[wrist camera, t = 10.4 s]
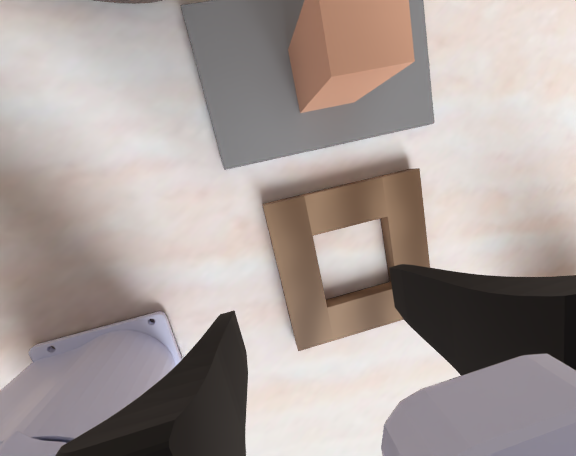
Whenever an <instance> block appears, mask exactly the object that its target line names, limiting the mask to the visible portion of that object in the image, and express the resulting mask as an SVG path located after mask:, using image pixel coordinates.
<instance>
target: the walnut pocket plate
mask: <svg viewBox="0 0 576 456" xmlns="http://www.w3.org/2000/svg"><path fill="white" fill-rule="evenodd" d="M262 205H263V209H264V213H265V217H266V221H267V226H268V230H269V234H270V238H271V242H272V246H273V250H274V254H275V259H276V263H277V267H278V271H279V275H280V279H281V283H282V287H283V292H284V296H285V300H286V304H287V308H288V312H289V316H290V320H291V325H292V329H293V333H294V337H295V341H296V345H297V348H298V351H301V350H304V349H307V348H311V347H314V346H317V345H321V344H324V343H327V342H330V341H334V340H337V339H340V338H344V337H347V336H350V335H354V334H357V333H360V332H364V331H367V330H370V329H374V328H377V327H380V326H384V325H387V324H390V323H393V322H397V321H400V320H403V317H402V316H401V315H400V314H399V312H398V311H397V310H396V308H395V306H394V299H393V292H392V285H391V278H390V271H389V267H393V266H397V265H400V264H409V265H416V266H423V267H429V268H430V264H429V254H428V245H427V235H426V226H425V217H424V207H423V198H422V188H421V179H420V170H419V169H407V170H403V171H399V172H395V173H391V174H386V175H382V176H378V177H374V178H370V179H365V180H361V181H357V182H353V183H349V184H344V185H340V186H336V187H332V188H328V189H323V190H319V191H315V192H311V193H307V194H302V195H298V196H294V197H290V198H286V199H281V200H277V201H273V202H269V203H265V204H262ZM380 218H381V225H382V232H383V239H384V246H385V253H386V260H387V267H388V274H389V281H390V282H387V283H384V284H380V285H377V286H373V287H370V288H366V289H363V290H359V291H356V292H352V293H349V294H345V295H342V296H338V297H335V298H331V299H328V300H326V299H325V295H324V290H323V285H322V280H321V275H320V270H319V265H318V260H317V256H316V251H315V246H314V241H313V235H317V234H321V233H325V232H329V231H333V230H337V229H341V228H345V227H348V226H352V225H356V224H360V223H364V222H368V221H372V220H376V219H380Z"/></svg>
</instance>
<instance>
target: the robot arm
mask: <svg viewBox="0 0 576 456" xmlns="http://www.w3.org/2000/svg"><path fill="white" fill-rule="evenodd" d="M389 271H390V278H391V285H392V292H393V299H394V306H395V308H396V310H397V311H398V312H399V314H400V315H401V316H402V317H403V319H404V320H405V321H406V322H407V323H408V324H409V325H410V326H411V327H412V328H413V329H414V330H415V331H416V332H417V333H418V334H419V335H420V336H421V337H422V338H423V339H424V340H425V341H426V342H428V343H429V344H430V345H431V346H432V347H433V348H434V349H435V350H436V351H437V352H438V353H439V354H440V355H441V356H443V357H444V358H445V359H446V360H447V361H448V362H449V363H450V364H451V365H452V366H453V367H454V368H455V369H456V370H457V371H458V372H459V374H460V375H461V376H459V377H456V378H453V379H450V380H447V381H444V382H441V383H438V384H435V385H432V386H429V387H426V388H423V389H420V390H419V391H417V392H415V393H414V394H412V395H410V396H408V397H407V398H405V399H403V400H402V401H400V402H399V403H398V405H397V406H396V408H395V409H394V410H393V412H392V413H391V415H390V416H389V417H388V419H387V420H386V422H385V424H384V430H383V438H382V446H381V449H382V455H383V456H576V275H574V276H557V277H502V276H487V275H476V274H468V273H460V272H453V271H447V270H441V269H435V268H429V267H423V266H416V265H409V264H400V265H397V266H393V267H389ZM150 319H154V320H155V322H151V321H150ZM51 346H53V347H55V349H53V348H52V347H51ZM29 356H30V358H31V360H32V363H31V364H30V365H29V366H28V367H27V368H26V369H24V370H23V371H22V372H21V373H20V374H19V375H18V376H16V377H15V378H14V379H13V380H12V381H11V382H10V383H8V384H7V385H6V386H5V387H4V388H3V389H2V390H0V456H246V447H245V423H246V403H247V383H248V367H247V355H246V349H245V345H244V342H243V339H242V335H241V332H240V328H239V325H238V322H237V318H236V315H235V311H231V312H227V313H224V314H220V315H219V316H218V318H217V319H216V320H215V321H214V323H213V324H212V325H211V326H210V328H209V329H208V330H207V332H206V333H205V334H204V335H203V337H202V338H201V339H200V340H199V341H198V343H197V344H196V345H195V346H194V347H193V348H192V349H191V350H190V352H189V353H188V354H187V355H186V356H185V357H184V358H183V359H182V358H181V355H180V352H179V349H178V347H177V344H176V341H175V338H174V335H173V333H172V330H171V327H170V324H169V321H168V319H167V316H166V314H165V313H164V312H161V311H160V312H155V313H151V314H147V315H143V316H140V317H136V318H132V319H129V320H125V321H121V322H118V323H114V324H110V325H106V326H103V327H99V328H95V329H92V330H88V331H84V332H81V333H77V334H73V335H69V336H66V337H62V338H58V339H55V340H51V341H47V342H43V343H40V344H36V345H34V346H33V347H32V348H31V349H30V350H29Z"/></svg>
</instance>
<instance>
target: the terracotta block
mask: <svg viewBox="0 0 576 456" xmlns="http://www.w3.org/2000/svg"><path fill="white" fill-rule="evenodd" d="M288 53H289V58H290V63H291V68H292V74H293V79H294V84H295V89H296V94H297V100H298V105H299V110H300V113H304V112H309V111H314V110H319V109H324V108H329V107H334V106H339V105H344V104H349V103H354V102H356V101H357V100H359V99H360V98H362V97H363V96H364V95H366V94H367V93H369V92H370V91H372V90H373V89H375V88H376V87H378V86H379V85H381V84H382V83H384V82H385V81H387V80H388V79H390V78H391V77H393V76H394V75H395V74H397V73H398V72H400V71H401V70H403V69H404V68H406V67H407V66H409V65H410V64H412V63H413V62H415V59H414V49H413V38H412V28H411V18H410V8H409V0H304V3H303V6H302V9H301V12H300V15H299V18H298V21H297V24H296V27H295V30H294V33H293V36H292V39H291V42H290V45H289V48H288Z"/></svg>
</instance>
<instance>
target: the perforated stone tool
mask: <svg viewBox="0 0 576 456" xmlns="http://www.w3.org/2000/svg"><path fill="white" fill-rule="evenodd" d="M94 1H104V2H114V3H151V2H157V1H162V0H94Z"/></svg>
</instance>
